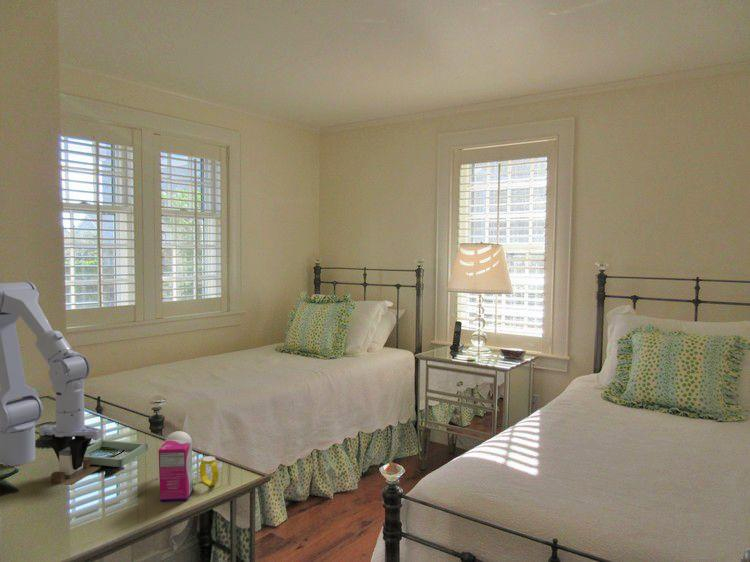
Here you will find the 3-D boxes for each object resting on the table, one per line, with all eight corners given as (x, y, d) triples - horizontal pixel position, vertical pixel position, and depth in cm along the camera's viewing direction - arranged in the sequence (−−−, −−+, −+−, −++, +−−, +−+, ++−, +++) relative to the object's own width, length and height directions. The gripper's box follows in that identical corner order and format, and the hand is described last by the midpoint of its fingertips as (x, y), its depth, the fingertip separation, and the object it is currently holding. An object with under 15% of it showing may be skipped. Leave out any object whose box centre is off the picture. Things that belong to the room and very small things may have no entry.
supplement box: (166, 490, 123) (165, 439, 122) (193, 489, 123) (193, 438, 122) (158, 502, 117) (157, 449, 116) (187, 501, 118) (186, 448, 117)
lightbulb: (183, 485, 125) (183, 437, 124) (158, 482, 126) (158, 435, 126) (197, 474, 131) (197, 428, 130) (173, 471, 132) (173, 426, 132)
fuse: (59, 477, 126) (59, 451, 126) (73, 469, 131) (72, 444, 130) (69, 478, 126) (69, 452, 125) (83, 470, 130) (82, 445, 130)
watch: (221, 487, 126) (222, 461, 125) (210, 490, 123) (211, 465, 123) (207, 477, 130) (208, 452, 129) (196, 480, 128) (197, 455, 127)
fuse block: (39, 485, 124) (39, 472, 124) (71, 467, 134) (71, 456, 134) (71, 488, 123) (71, 476, 122) (101, 470, 132) (101, 458, 132)
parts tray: (72, 465, 135) (72, 455, 135) (101, 449, 146) (101, 439, 146) (121, 470, 133) (121, 459, 133) (147, 453, 144) (147, 443, 143)
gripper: (28, 412, 124) (29, 471, 125) (86, 416, 122) (88, 477, 123) (51, 403, 131) (53, 459, 132) (107, 407, 129) (108, 464, 130)
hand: (71, 467), depth 128 cm, fingers closed on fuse, 3 cm apart
